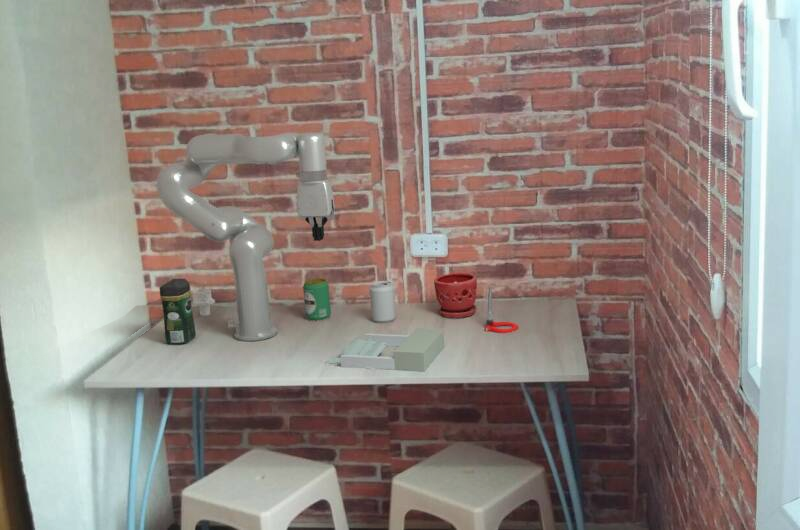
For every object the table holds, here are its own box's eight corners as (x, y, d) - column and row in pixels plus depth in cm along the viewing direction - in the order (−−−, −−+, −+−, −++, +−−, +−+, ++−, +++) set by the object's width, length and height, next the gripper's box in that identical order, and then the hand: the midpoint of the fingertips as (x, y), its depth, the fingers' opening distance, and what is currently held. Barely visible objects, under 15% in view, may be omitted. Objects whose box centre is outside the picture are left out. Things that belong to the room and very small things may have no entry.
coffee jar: (174, 335, 278) (167, 276, 274) (199, 335, 276) (192, 276, 272) (161, 345, 268) (154, 284, 264) (187, 345, 267) (180, 284, 263)
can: (400, 318, 282) (398, 280, 280) (387, 324, 276) (385, 286, 274) (380, 315, 286) (378, 278, 284) (367, 322, 280) (364, 284, 278)
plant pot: (456, 306, 292) (454, 270, 290) (486, 313, 283) (485, 275, 280) (427, 315, 284) (425, 278, 281) (457, 322, 274) (455, 284, 272)
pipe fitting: (214, 316, 296) (211, 292, 295) (192, 317, 296) (189, 294, 295) (218, 311, 302) (215, 288, 301) (196, 312, 303) (194, 289, 301)
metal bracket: (347, 331, 254) (394, 336, 246) (352, 348, 256) (398, 354, 249) (321, 360, 243) (369, 366, 236) (326, 377, 245) (373, 384, 238)
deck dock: (341, 366, 241) (339, 348, 240) (366, 343, 259) (365, 326, 258) (424, 371, 234) (423, 352, 233) (444, 347, 252) (443, 329, 251)
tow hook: (521, 326, 268) (490, 324, 271) (522, 284, 265) (491, 282, 268) (514, 335, 261) (483, 332, 264) (515, 292, 258) (484, 289, 261)
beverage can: (300, 319, 288) (297, 282, 285) (318, 312, 294) (315, 277, 291) (318, 322, 283) (315, 285, 280) (336, 316, 288) (333, 279, 286)
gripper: (284, 178, 257) (289, 242, 261) (333, 178, 252) (338, 242, 256) (295, 175, 264) (300, 237, 268) (343, 174, 259) (347, 237, 263)
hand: (318, 239), depth 262 cm, fingers closed
